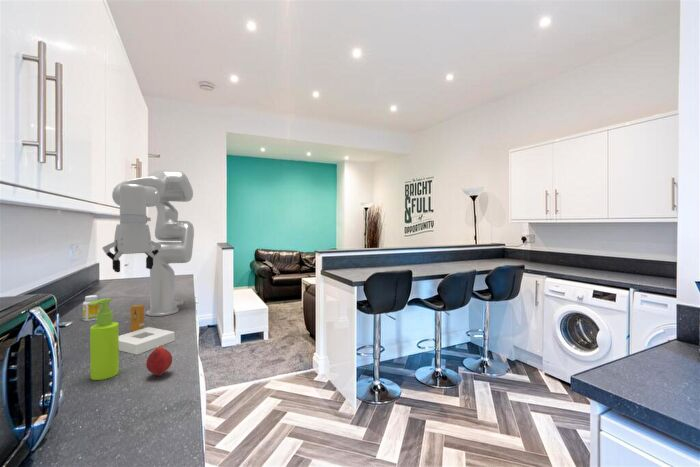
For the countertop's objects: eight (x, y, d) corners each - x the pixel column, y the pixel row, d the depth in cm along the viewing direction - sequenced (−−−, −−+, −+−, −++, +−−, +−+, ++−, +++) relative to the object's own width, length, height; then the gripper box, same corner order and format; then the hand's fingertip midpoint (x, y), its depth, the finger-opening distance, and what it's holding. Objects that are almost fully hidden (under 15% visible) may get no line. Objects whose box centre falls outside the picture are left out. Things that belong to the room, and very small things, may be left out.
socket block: (148, 335, 114) (148, 326, 114) (174, 340, 109) (174, 331, 109) (109, 348, 102) (109, 338, 102) (136, 354, 97) (136, 344, 97)
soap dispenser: (80, 381, 80) (79, 302, 80) (105, 369, 87) (104, 296, 87) (101, 383, 79) (100, 303, 79) (124, 370, 86) (124, 297, 86)
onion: (160, 381, 80) (160, 350, 80) (140, 379, 82) (140, 348, 81) (177, 371, 86) (177, 342, 86) (158, 369, 87) (158, 340, 87)
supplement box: (145, 331, 118) (145, 304, 118) (138, 334, 115) (138, 306, 115) (136, 330, 119) (136, 303, 118) (129, 333, 115) (129, 306, 115)
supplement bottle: (79, 321, 129) (79, 297, 129) (88, 317, 134) (88, 294, 134) (94, 321, 130) (94, 297, 130) (102, 317, 135) (102, 294, 135)
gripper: (155, 220, 119) (156, 266, 119) (98, 219, 105) (99, 271, 105) (165, 220, 114) (165, 268, 115) (106, 220, 100) (107, 274, 101)
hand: (133, 270), depth 110 cm, fingers open, 9 cm apart
